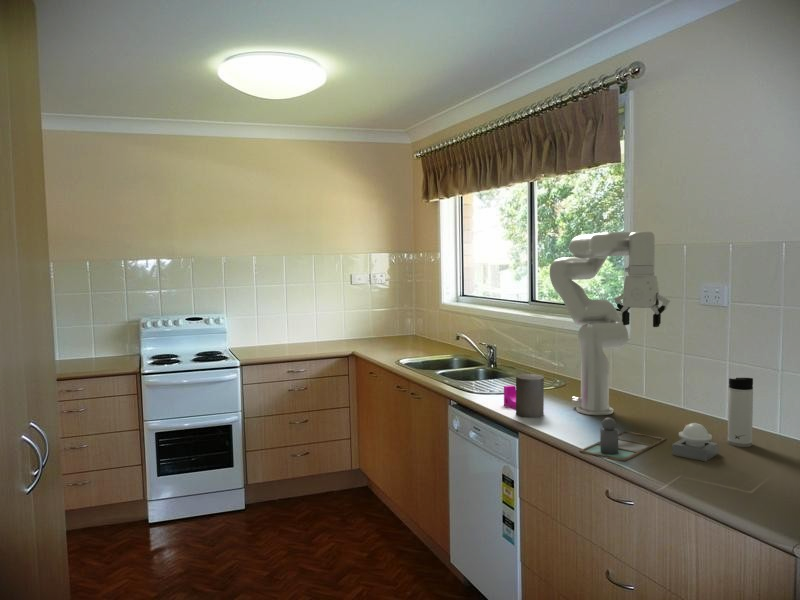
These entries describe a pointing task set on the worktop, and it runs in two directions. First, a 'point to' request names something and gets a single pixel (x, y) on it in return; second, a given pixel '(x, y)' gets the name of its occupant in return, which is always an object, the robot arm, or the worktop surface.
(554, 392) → the worktop surface
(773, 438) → the worktop surface
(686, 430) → the dome
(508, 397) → the toy block
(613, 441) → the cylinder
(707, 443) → the collar
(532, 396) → the pillar candle
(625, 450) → the brown flat rectangular frame
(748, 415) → the travel mug
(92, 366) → the worktop surface
